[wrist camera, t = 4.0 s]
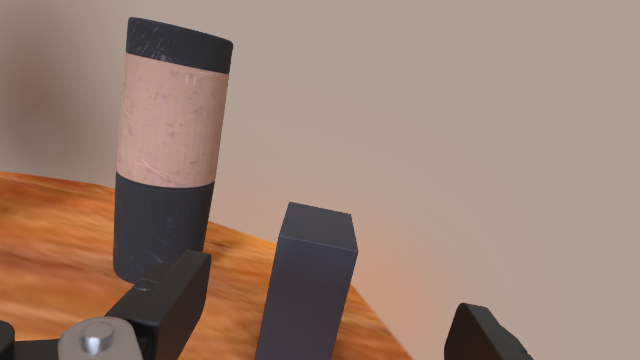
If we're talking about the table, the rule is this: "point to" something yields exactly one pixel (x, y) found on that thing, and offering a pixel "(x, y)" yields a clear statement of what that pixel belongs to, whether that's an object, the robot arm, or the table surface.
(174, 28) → the travel mug
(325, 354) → the slate block
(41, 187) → the table surface
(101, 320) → the robot arm
